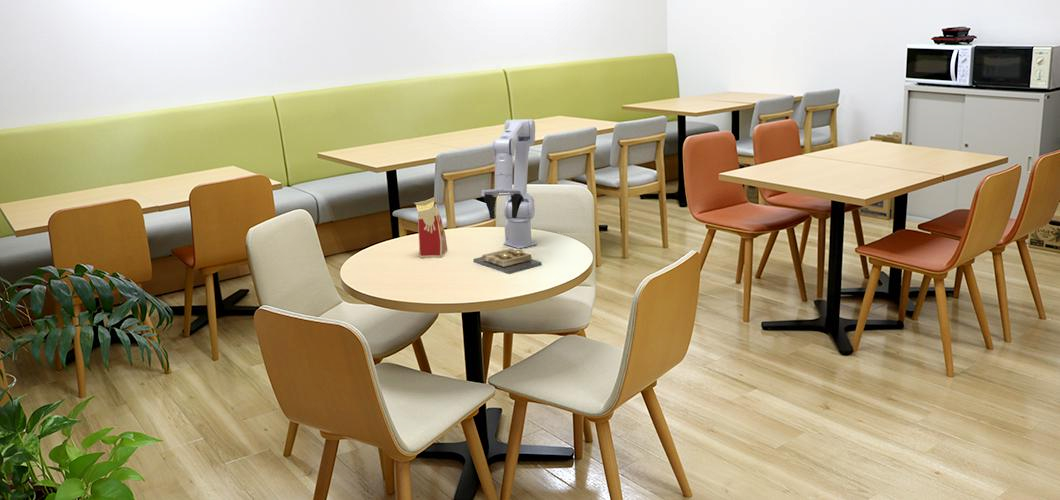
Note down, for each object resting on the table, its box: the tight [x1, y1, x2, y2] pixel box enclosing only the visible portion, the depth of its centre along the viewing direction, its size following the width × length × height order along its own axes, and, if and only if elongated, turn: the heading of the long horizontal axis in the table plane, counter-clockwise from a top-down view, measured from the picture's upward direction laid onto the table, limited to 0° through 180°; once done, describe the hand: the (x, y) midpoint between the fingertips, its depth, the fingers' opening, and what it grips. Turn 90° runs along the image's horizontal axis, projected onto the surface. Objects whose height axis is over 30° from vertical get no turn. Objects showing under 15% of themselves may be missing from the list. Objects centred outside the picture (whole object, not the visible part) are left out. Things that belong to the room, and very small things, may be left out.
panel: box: [481, 248, 532, 267], centre depth 293 cm, size 12×11×2 cm
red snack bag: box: [413, 196, 448, 259], centre depth 307 cm, size 9×9×20 cm
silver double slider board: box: [472, 249, 543, 275], centre depth 293 cm, size 20×13×4 cm, turn 37°
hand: (503, 218), depth 289 cm, fingers open, 7 cm apart
